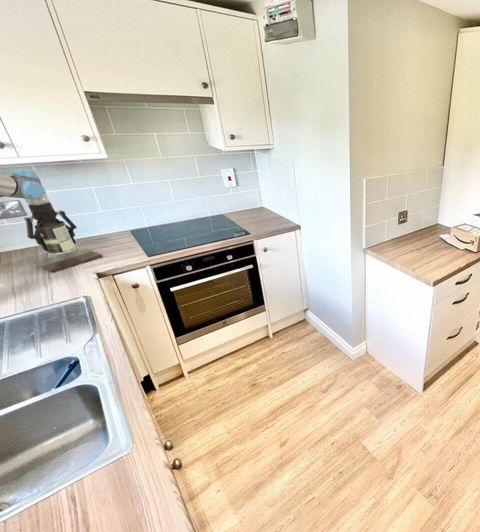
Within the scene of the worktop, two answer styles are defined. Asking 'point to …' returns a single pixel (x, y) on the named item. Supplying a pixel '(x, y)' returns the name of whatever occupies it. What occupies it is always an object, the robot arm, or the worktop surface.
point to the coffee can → (56, 238)
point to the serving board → (68, 260)
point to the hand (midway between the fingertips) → (60, 246)
